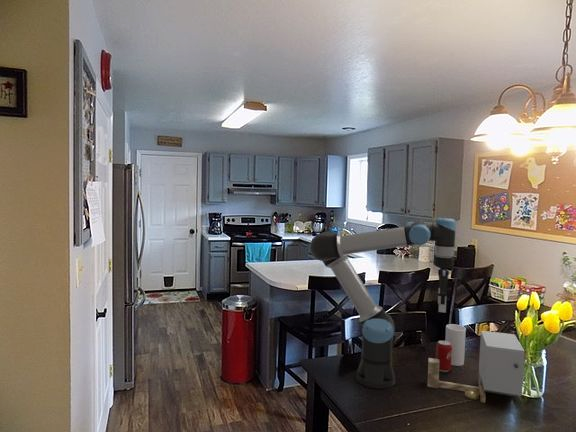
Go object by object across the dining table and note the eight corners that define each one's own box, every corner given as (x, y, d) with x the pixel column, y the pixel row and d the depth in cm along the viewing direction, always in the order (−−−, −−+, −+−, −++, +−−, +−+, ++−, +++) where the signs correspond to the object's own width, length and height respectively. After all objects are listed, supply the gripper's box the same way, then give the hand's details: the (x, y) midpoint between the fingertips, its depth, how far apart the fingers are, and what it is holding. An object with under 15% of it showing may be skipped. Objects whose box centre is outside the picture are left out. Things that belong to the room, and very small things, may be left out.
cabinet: (483, 405, 150) (487, 347, 149) (478, 383, 168) (480, 330, 167) (521, 412, 146) (525, 352, 145) (511, 388, 164) (514, 334, 163)
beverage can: (452, 373, 176) (453, 345, 175) (436, 372, 177) (437, 344, 177) (449, 367, 182) (450, 340, 182) (434, 366, 184) (435, 339, 183)
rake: (427, 393, 159) (428, 367, 158) (427, 382, 168) (428, 357, 167) (485, 402, 152) (486, 376, 152) (482, 391, 161) (483, 365, 161)
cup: (467, 363, 188) (469, 328, 187) (456, 367, 183) (458, 331, 182) (451, 357, 194) (453, 323, 193) (440, 360, 190) (442, 325, 189)
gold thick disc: (465, 398, 155) (466, 393, 155) (464, 392, 160) (464, 387, 160) (480, 400, 154) (480, 395, 154) (478, 394, 159) (478, 389, 159)
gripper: (455, 261, 158) (453, 317, 159) (452, 252, 181) (450, 301, 183) (434, 260, 160) (432, 314, 161) (434, 251, 184) (431, 299, 185)
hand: (441, 307), depth 172 cm, fingers open, 13 cm apart
